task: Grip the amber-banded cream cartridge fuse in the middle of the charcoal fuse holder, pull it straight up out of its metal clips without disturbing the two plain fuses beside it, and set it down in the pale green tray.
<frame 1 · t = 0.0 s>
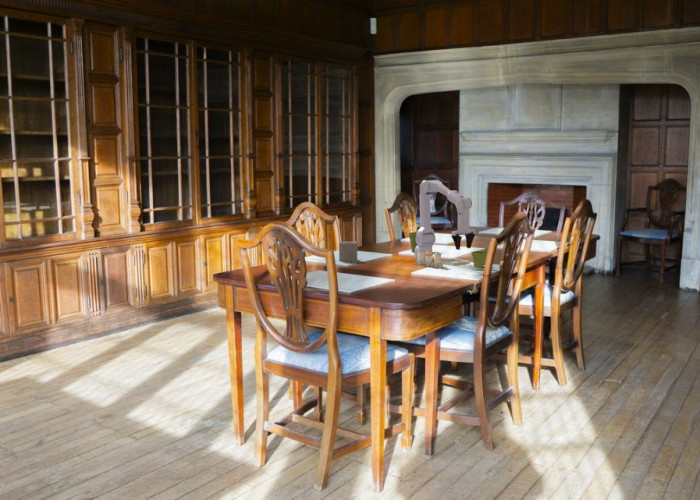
hand: (463, 248, 361), 10 cm above the table, tool pointing down, fingers open, 7 cm apart
grey block: (349, 260, 395), on the table
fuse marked: (429, 265, 363), point 1 cm above the table, touching fuse holder
fuse left: (421, 264, 368), point 1 cm above the table, touching fuse holder
tray: (453, 265, 372), on the table
fuse right: (437, 267, 358), point 1 cm above the table, touching fuse holder
fuse holder: (429, 268, 363), on the table
plant pot: (480, 269, 359), on the table
plant pot 2: (417, 252, 425), on the table
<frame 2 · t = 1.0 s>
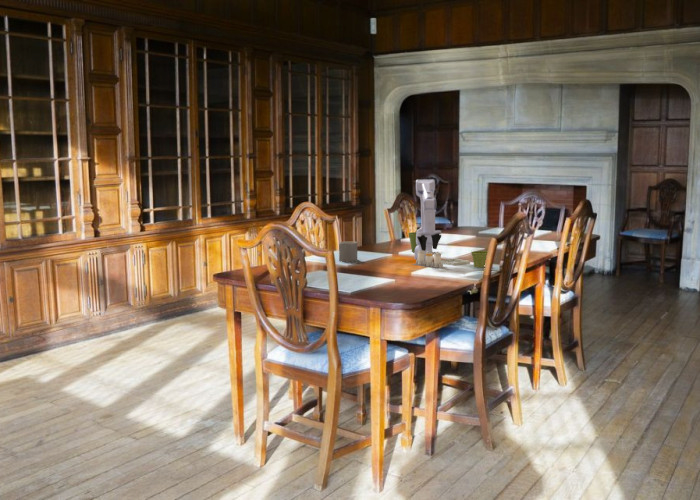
hand: (429, 249, 362), 10 cm above the table, tool pointing down, fingers open, 7 cm apart
nothing on the table moved.
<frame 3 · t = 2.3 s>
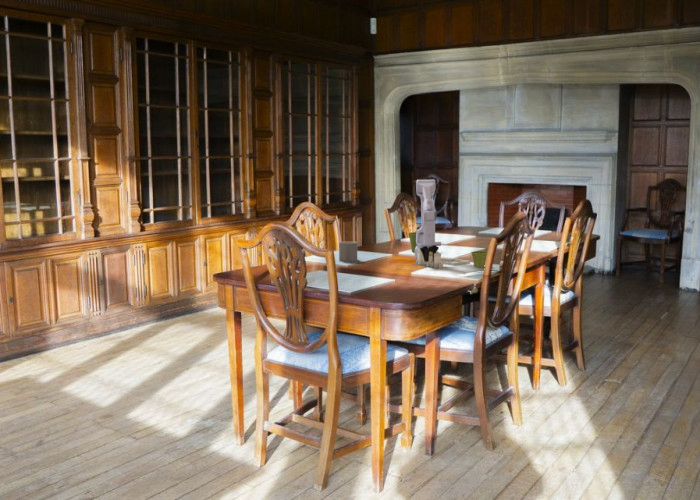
hand: (429, 261, 363), 4 cm above the table, tool pointing down, fingers closed on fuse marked, 3 cm apart
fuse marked: (429, 265, 363), point 1 cm above the table, touching fuse holder, gripper
everything else where it was.
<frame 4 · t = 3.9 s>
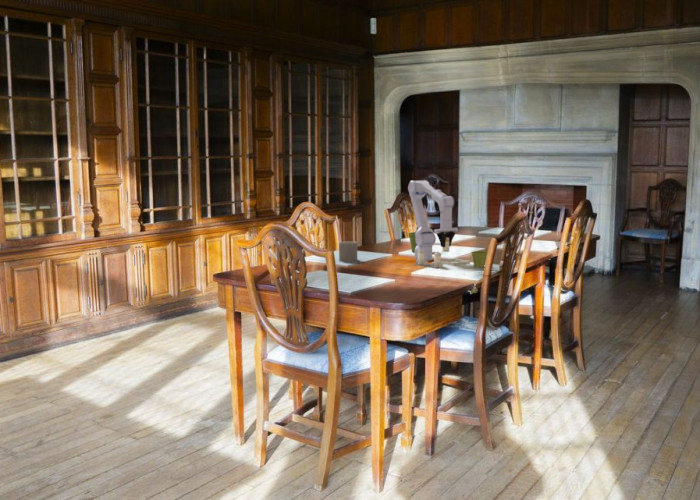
hand: (445, 246, 368), 10 cm above the table, tool pointing down, fingers closed on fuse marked, 3 cm apart
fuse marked: (445, 251, 368), point 8 cm above the table, touching gripper
everything else where it was.
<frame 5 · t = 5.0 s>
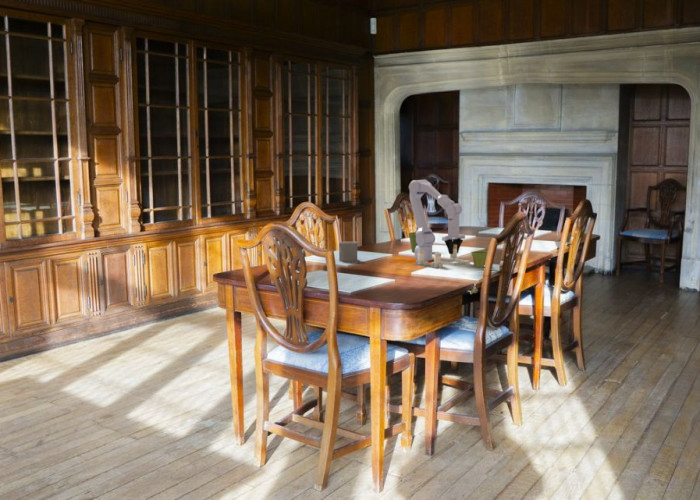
hand: (453, 253, 371), 6 cm above the table, tool pointing down, fingers closed on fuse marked, 3 cm apart
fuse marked: (453, 258, 371), point 4 cm above the table, touching gripper
everything else where it was.
when the fingers open (4 cm above the table, at t = 5.9 s): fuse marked stays where it is, resting on tray.
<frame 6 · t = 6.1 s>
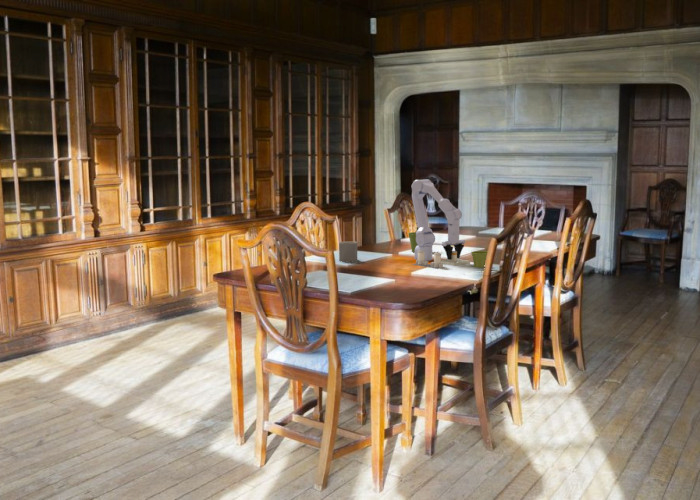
hand: (453, 258, 371), 4 cm above the table, tool pointing down, fingers open, 5 cm apart
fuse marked: (453, 264, 372), point 1 cm above the table, touching tray
everything else where it was.
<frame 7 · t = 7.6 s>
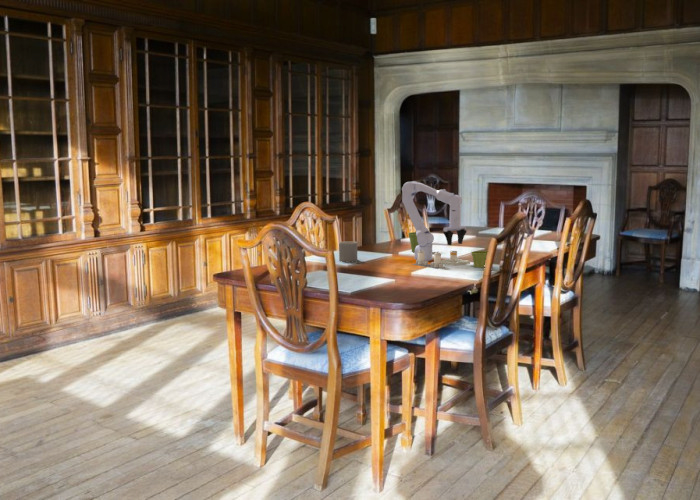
hand: (454, 244, 376), 10 cm above the table, tool pointing down, fingers open, 7 cm apart
nothing on the table moved.
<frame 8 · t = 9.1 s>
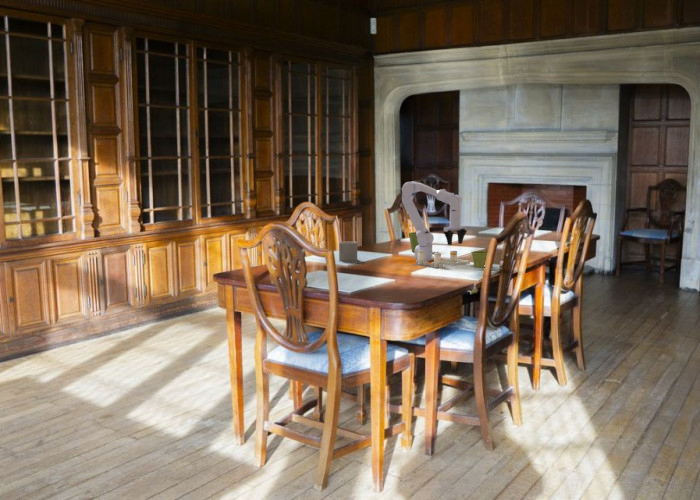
hand: (455, 244, 376), 10 cm above the table, tool pointing down, fingers open, 7 cm apart
nothing on the table moved.
at the end: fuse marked inside the target area on the tray (0.1 cm from its centre), point 0.6 cm above the tray's base; fuse left moved 0.0 cm from its start; fuse right moved 0.0 cm from its start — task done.
